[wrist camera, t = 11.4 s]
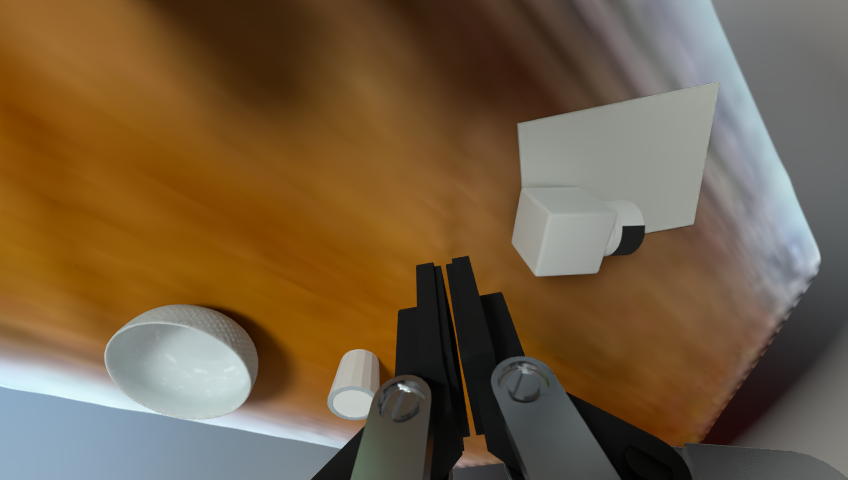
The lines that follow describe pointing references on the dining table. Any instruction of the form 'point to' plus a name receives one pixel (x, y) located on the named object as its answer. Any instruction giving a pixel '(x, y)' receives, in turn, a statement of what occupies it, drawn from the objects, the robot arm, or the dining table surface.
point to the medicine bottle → (573, 230)
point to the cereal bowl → (183, 361)
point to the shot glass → (354, 385)
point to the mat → (627, 152)
